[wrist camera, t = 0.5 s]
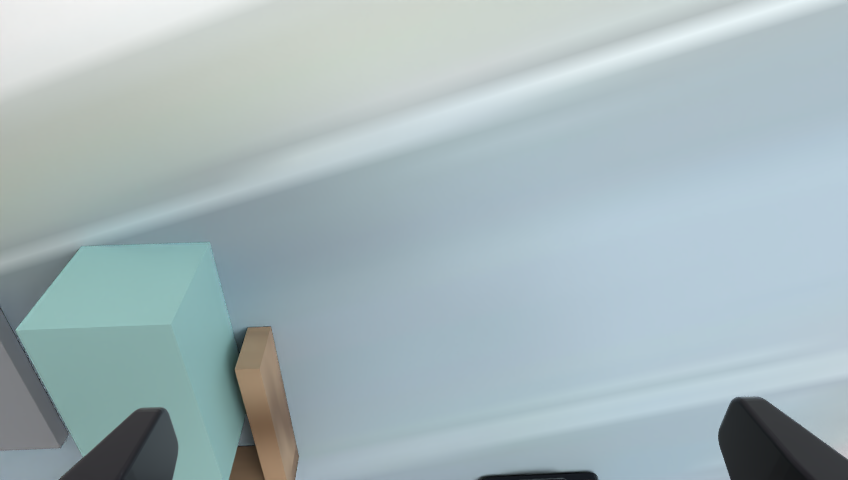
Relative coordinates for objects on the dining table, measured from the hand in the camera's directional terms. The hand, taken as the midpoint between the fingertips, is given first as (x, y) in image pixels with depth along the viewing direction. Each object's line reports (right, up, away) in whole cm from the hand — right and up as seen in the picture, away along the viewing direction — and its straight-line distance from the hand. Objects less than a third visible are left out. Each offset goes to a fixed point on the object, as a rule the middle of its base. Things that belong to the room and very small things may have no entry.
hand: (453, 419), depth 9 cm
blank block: (-11, -1, +16) cm, 20 cm away
